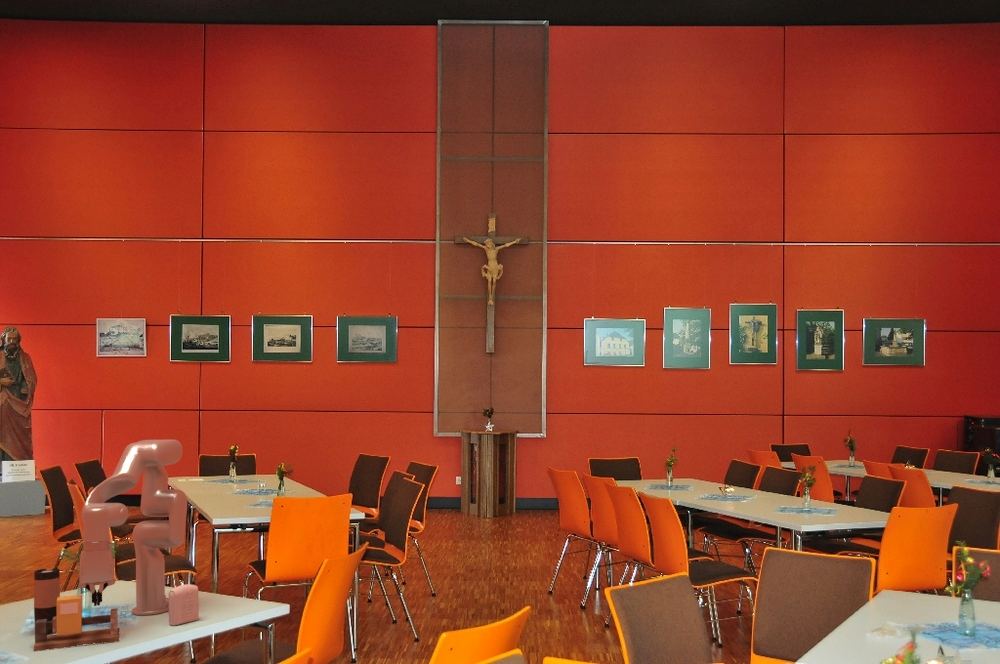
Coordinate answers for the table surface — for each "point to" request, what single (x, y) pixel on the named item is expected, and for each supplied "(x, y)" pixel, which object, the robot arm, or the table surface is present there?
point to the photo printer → (183, 604)
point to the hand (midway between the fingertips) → (97, 604)
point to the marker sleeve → (69, 615)
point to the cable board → (76, 639)
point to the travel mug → (46, 594)
